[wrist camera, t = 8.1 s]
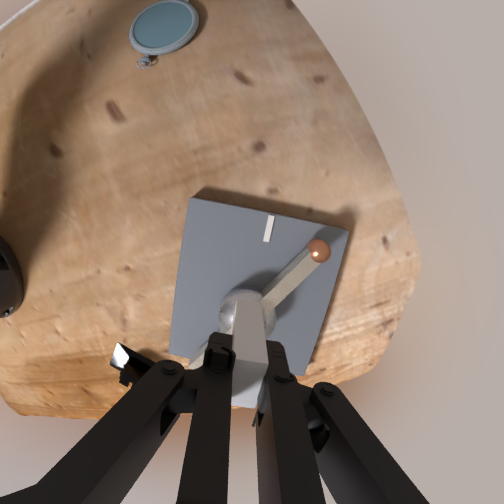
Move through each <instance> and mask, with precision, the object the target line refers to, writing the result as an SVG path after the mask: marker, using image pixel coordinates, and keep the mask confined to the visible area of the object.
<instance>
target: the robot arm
mask: <svg viewBox="0 0 504 504" xmlns="http://www.w3.org/2000/svg"><path fill="white" fill-rule="evenodd" d="M22 299H23V281H22V275H21V271H20V268H19V265H18V262H17V259H16V257H15V255H14V253H13V252H12V250H11V248H10V247H9V246H8V244H7V243H6V242H5V241H4V240H3V239H2V238H0V318H4V317H8V316H10V315H11V314H12V313H14V312H15V311H17V310H18V309H19V307H20V305H21V303H22ZM256 404H258V409H257V411H256V415H255V418H254V421H253V424H252V426H253V427H254V426H255V423H256V445H257V466H258V467H257V468H258V491H259V504H326V502H325V497H324V493H323V488H322V484H321V480H320V475H321V476H322V478H323V480H324V482H325V484H326V486H327V487H328V489H329V491H330V493H331V495H332V496H333V498H334V500H335V502H336V503H337V504H429V502H428V501H427V500H426V499H425V497H424V496H423V495H422V494H421V492H420V491H419V490H418V489H417V487H416V486H415V485H414V484H413V482H412V481H411V480H410V479H409V477H408V476H407V475H406V474H405V472H404V471H403V470H402V469H401V467H400V466H399V465H398V463H397V462H396V461H395V460H394V458H393V457H392V456H391V455H390V453H389V452H388V451H387V450H386V448H385V447H384V446H383V444H382V443H381V442H380V441H379V439H378V438H377V437H376V436H375V434H374V433H373V432H372V430H371V429H370V428H369V427H368V425H367V424H366V423H365V421H364V420H363V419H362V418H361V417H360V415H359V414H358V412H357V411H356V410H355V409H354V407H353V406H352V405H351V404H350V402H349V401H348V399H347V398H346V397H345V396H344V394H343V393H342V392H341V390H340V389H339V388H338V387H337V386H335V385H333V384H331V383H327V382H319V383H316V384H315V385H314V387H313V388H311V387H307V386H304V385H301V384H299V383H298V382H297V379H296V377H295V375H293V374H292V373H291V372H290V370H289V366H288V361H287V357H286V352H285V348H284V346H283V345H282V344H281V343H280V342H278V341H271V340H266V339H265V331H264V323H263V315H262V307H261V302H256V301H250V300H244V299H239V298H237V300H236V305H235V310H234V315H233V320H232V325H231V330H230V334H225V333H219V332H213V333H212V334H211V335H210V336H209V340H208V345H207V348H206V349H205V353H204V359H203V365H202V366H200V367H199V368H196V369H190V370H185V369H184V367H183V366H182V365H181V364H180V363H178V362H176V361H172V360H161V361H158V362H157V363H155V364H154V365H153V366H152V367H151V368H150V369H149V370H148V371H147V372H146V373H145V374H144V375H143V377H142V378H141V379H140V380H139V381H138V382H137V383H136V384H135V385H134V386H133V387H132V388H131V389H130V390H129V391H128V392H127V393H126V394H125V395H124V396H123V397H122V398H121V399H120V400H119V401H118V402H117V403H116V404H115V405H114V406H113V407H112V408H111V409H110V410H109V411H108V412H107V413H106V414H105V415H104V416H103V417H102V418H101V419H100V420H99V421H98V422H97V423H96V424H95V425H94V427H93V428H92V429H91V430H90V431H89V432H88V433H87V434H86V435H85V436H84V437H83V438H82V439H81V440H80V441H79V442H78V443H77V444H76V445H75V446H74V447H73V448H72V449H71V450H70V451H69V452H68V453H67V454H66V455H65V456H64V457H63V458H62V459H61V460H60V461H59V462H58V463H57V464H56V465H55V466H54V467H53V468H52V469H51V470H50V471H49V472H48V473H47V474H46V475H45V476H44V477H43V478H42V479H41V480H40V481H39V482H38V483H37V484H35V485H33V486H30V487H28V488H25V489H23V490H20V491H17V492H14V493H11V494H9V495H6V496H3V497H0V504H120V503H121V502H122V500H123V499H124V497H125V496H126V494H127V493H128V492H129V490H130V489H131V488H132V486H133V485H134V483H135V482H136V480H137V479H138V477H139V476H140V474H141V473H142V472H143V470H144V469H145V467H146V466H147V464H148V463H149V461H150V460H151V458H152V457H153V456H154V454H155V452H156V451H157V449H158V448H159V446H160V445H161V443H162V442H163V441H164V439H165V438H166V436H167V435H168V433H169V432H170V430H171V429H172V427H173V425H174V424H175V423H176V421H177V420H178V418H179V417H180V414H181V413H193V415H192V420H191V426H190V431H189V436H188V441H187V446H186V452H185V457H184V463H183V468H182V474H181V479H180V485H179V491H178V497H177V502H176V504H227V493H228V466H229V441H230V420H231V419H230V418H231V405H233V406H240V407H248V408H255V407H256ZM327 426H328V427H327ZM319 473H320V475H319Z"/></svg>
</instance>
